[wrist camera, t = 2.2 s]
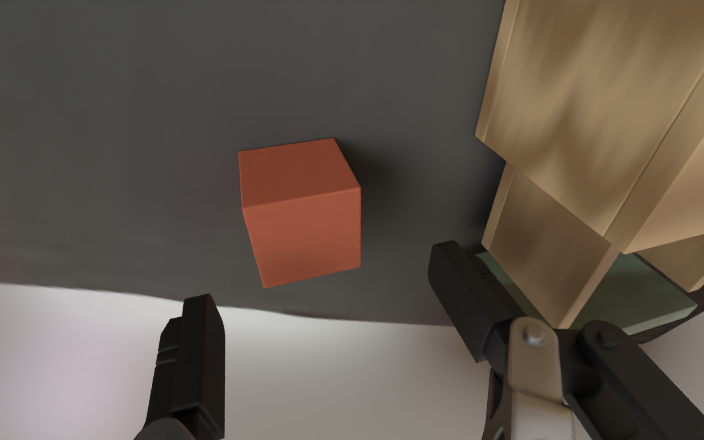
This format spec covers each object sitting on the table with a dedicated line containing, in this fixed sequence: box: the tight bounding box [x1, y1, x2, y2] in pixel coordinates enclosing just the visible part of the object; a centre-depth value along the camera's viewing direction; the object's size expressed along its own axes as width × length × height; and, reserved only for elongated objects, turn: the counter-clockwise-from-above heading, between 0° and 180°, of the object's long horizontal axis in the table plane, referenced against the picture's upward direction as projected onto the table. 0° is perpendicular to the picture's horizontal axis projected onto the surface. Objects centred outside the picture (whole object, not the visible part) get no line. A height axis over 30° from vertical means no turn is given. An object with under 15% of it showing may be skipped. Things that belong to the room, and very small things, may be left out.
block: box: [238, 138, 361, 288], centre depth 15 cm, size 4×4×4 cm
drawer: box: [476, 161, 704, 335], centre depth 20 cm, size 17×11×7 cm, turn 0°
